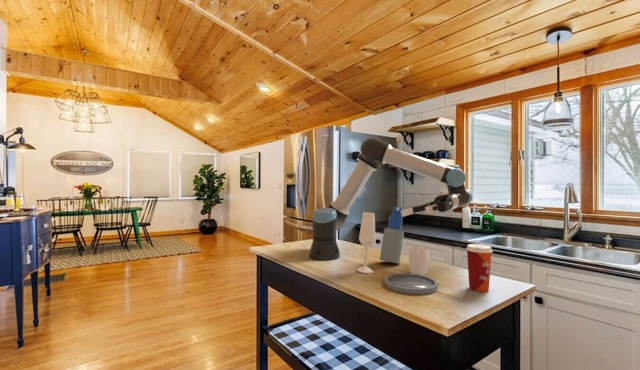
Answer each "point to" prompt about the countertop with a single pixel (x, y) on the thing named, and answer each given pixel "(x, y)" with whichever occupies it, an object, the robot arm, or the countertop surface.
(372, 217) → the champagne flute
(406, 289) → the plate
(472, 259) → the coffee cup
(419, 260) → the white cup
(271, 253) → the countertop surface
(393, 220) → the spray bottle
